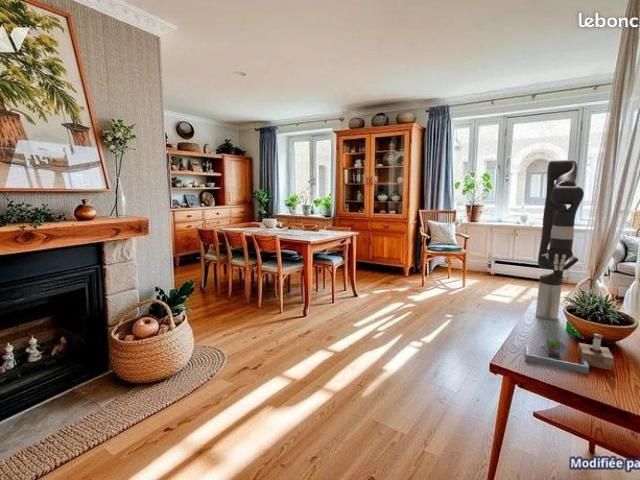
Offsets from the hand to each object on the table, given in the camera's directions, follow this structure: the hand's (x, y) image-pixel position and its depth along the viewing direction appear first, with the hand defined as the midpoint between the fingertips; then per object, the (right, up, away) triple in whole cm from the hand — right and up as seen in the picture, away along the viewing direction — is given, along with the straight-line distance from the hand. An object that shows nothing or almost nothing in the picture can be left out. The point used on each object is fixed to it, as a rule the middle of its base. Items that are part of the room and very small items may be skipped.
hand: (556, 278), depth 146 cm
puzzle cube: (+19, -26, +10) cm, 34 cm away
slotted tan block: (+5, -29, -13) cm, 33 cm away
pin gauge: (+5, -30, -13) cm, 33 cm away
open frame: (-9, -29, -12) cm, 33 cm away
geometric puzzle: (-7, -29, -8) cm, 31 cm away
